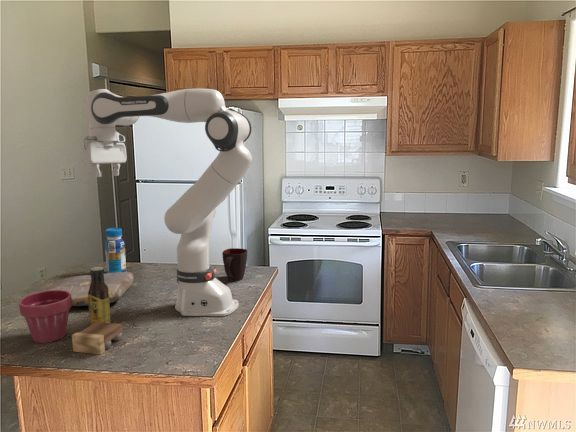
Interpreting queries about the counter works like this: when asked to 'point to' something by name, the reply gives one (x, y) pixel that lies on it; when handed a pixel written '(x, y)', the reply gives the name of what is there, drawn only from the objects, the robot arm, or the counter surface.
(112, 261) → the beverage bottle
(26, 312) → the plant pot
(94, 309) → the sauce bottle
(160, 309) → the counter surface
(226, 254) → the cup
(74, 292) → the stone slab
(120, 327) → the roller board
